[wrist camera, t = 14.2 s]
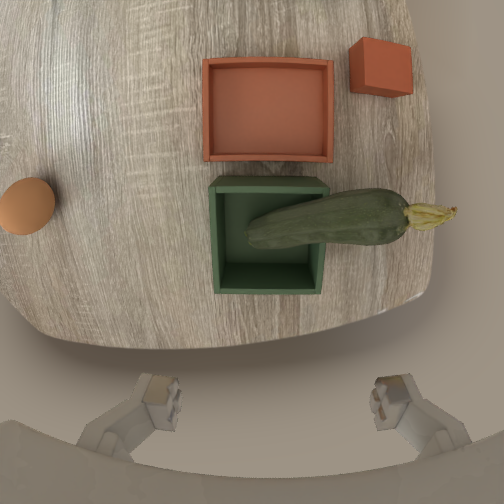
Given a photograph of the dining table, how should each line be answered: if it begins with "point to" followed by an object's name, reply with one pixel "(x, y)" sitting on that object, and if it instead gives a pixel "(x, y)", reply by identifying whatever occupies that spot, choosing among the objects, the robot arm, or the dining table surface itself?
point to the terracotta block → (380, 68)
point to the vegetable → (345, 220)
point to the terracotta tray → (268, 109)
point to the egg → (26, 206)
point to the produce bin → (261, 260)
